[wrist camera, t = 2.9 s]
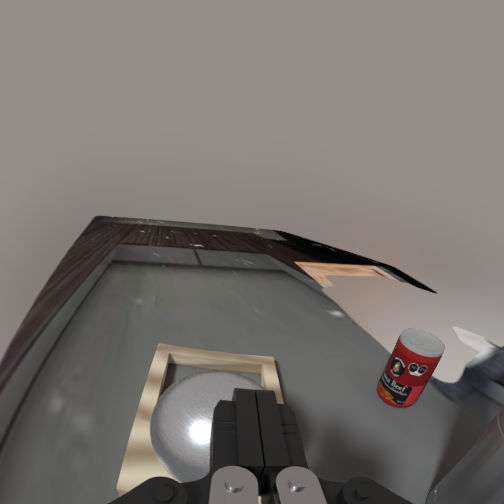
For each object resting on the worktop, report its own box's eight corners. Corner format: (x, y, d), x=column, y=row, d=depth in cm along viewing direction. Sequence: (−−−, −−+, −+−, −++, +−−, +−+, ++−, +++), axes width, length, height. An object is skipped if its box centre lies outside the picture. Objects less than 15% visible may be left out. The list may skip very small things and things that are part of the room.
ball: (292, 467, 26) (329, 392, 22) (212, 534, 17) (227, 480, 13) (213, 409, 33) (225, 330, 29) (130, 452, 24) (117, 370, 20)
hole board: (299, 510, 22) (305, 503, 21) (119, 496, 20) (116, 488, 19) (270, 366, 46) (273, 357, 46) (158, 353, 44) (158, 343, 44)
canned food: (367, 385, 44) (391, 330, 41) (399, 376, 47) (422, 325, 43) (392, 414, 37) (424, 357, 34) (424, 402, 40) (453, 348, 37)
